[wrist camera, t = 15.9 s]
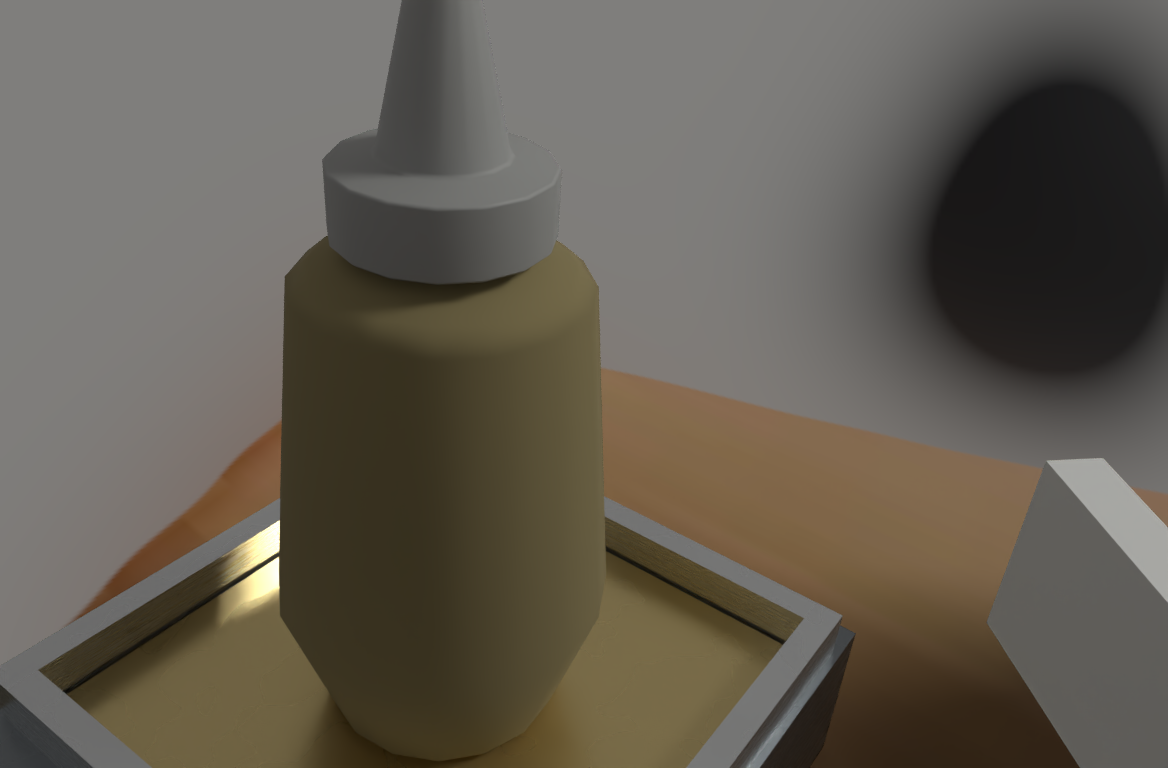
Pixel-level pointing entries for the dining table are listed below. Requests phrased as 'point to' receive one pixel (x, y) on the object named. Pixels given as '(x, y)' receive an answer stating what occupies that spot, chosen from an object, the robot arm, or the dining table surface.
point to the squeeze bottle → (441, 414)
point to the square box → (354, 764)
